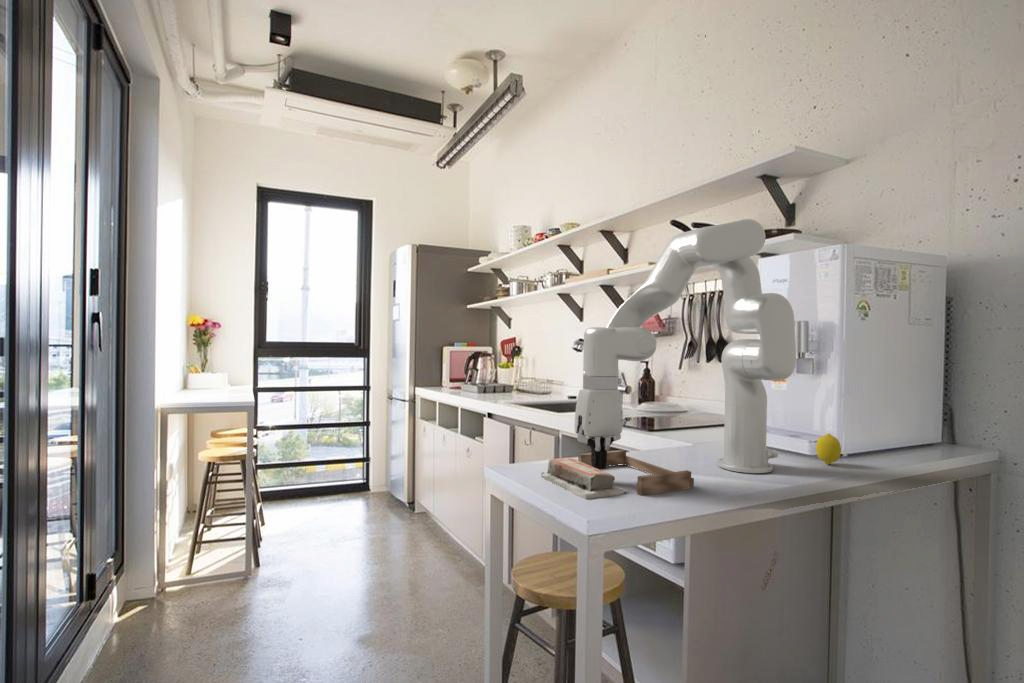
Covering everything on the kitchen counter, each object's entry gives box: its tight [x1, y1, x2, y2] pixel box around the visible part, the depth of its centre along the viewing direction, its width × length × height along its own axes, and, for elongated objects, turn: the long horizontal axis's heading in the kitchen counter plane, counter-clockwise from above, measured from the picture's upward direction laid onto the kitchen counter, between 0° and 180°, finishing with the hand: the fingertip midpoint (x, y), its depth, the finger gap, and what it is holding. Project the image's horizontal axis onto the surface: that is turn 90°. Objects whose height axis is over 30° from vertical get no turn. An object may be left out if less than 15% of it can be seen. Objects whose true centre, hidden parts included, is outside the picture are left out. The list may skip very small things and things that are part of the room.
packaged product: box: [540, 457, 626, 500], centre depth 114 cm, size 18×5×10 cm
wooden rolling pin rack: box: [577, 449, 695, 496], centre depth 120 cm, size 14×23×4 cm, turn 26°
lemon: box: [815, 433, 842, 465], centre depth 136 cm, size 6×6×8 cm
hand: (598, 467), depth 116 cm, fingers closed
